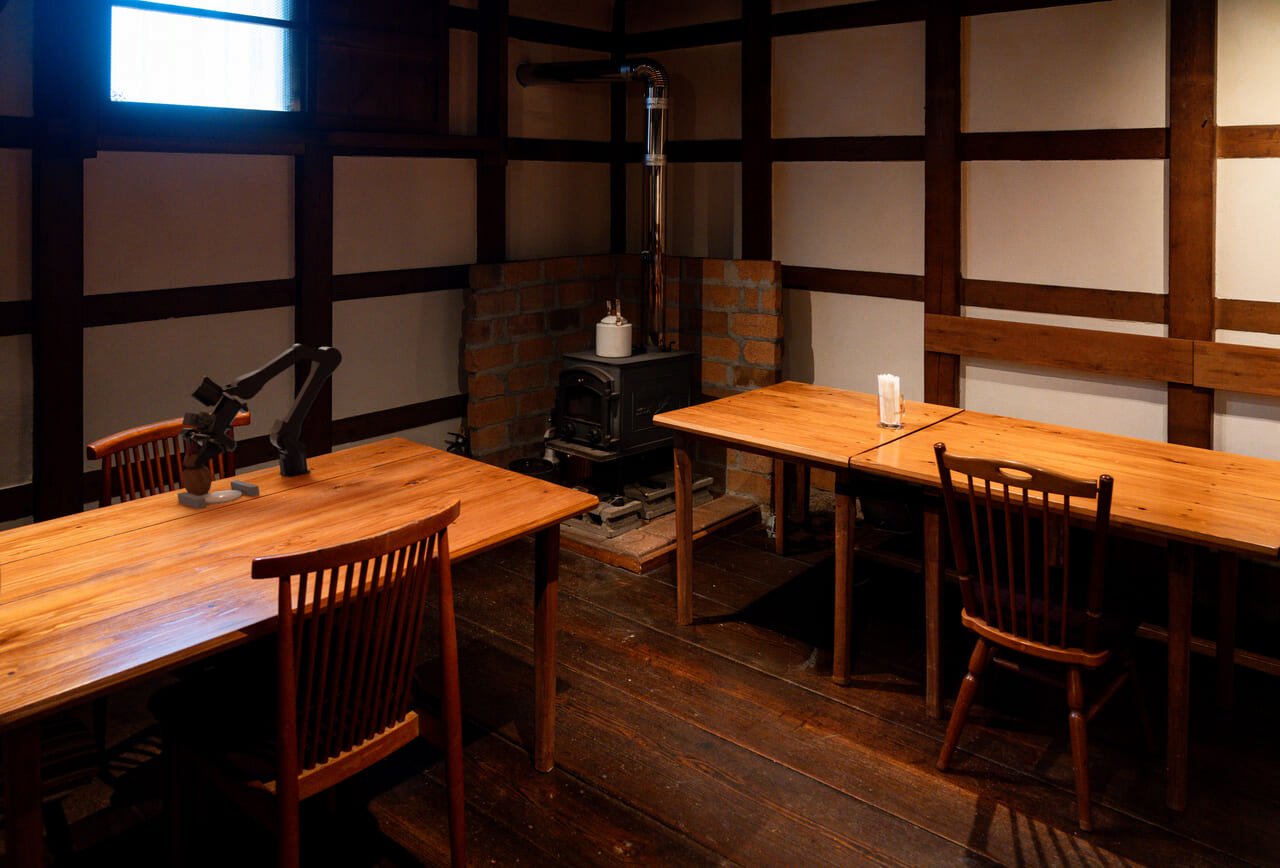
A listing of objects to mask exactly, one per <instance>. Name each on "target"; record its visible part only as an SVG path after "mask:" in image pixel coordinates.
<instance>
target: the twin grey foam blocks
mask: <svg viewBox="0 0 1280 868" xmlns="http://www.w3.org/2000/svg"><path fill="white" fill-rule="evenodd" d="M230 490H238V491H241V492H242V495H246V496H250V497H255V496H259V495H260V489H259V485H256V484H253V483H250V482H247V481H246V482H245V481H242V480H239V479H238V480H232V481H230ZM176 494H177V499H178V500H177V501H178V503H180V504H182V505H186V506H188V507H190V508H194V509H196V510H201V509H204V508H207V504H206V501H205V498H203V497H200V496H201V495H199V496H197V495H194V494H191V493H188V492H187V491H183V492H179V493H176Z"/></svg>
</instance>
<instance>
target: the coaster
mask: <svg viewBox="0 0 1280 868" xmlns="http://www.w3.org/2000/svg"><path fill="white" fill-rule="evenodd" d="M199 496H200V497H203V498H205V501H206V505H215V504H216V505H217V504H223V503H228V502H233V501H235V500H238V499H240V498H241V497H242V496H243V494H242V492H241V491H238V490H231V489H229V490H228V489H227V490H226V489H225V490H219V491H212V492H208V493H206V494H204V495H199Z"/></svg>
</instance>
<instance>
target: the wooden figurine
mask: <svg viewBox="0 0 1280 868" xmlns="http://www.w3.org/2000/svg"><path fill="white" fill-rule="evenodd" d="M186 450H187V455H186V456H185V455H184V457H183V462H184V463H185V465H184V466H185V467H186V468H185V469H184V470H183V471H182V483H183V485H184V488H185V490H186V491H185V492H188V493H191V494H194V495H197V496H201V495H204V494H207V493H210V490H211V487H212V475H211V471H210V470H209V468H208V467H207V466H205V465H204V464H202V465H201V466H199V467H197V468H196V467H195V466H194V463H195V461H196V459H197V457H198V455H199V447H198V442H197V438H195V446H194V443H193V441H192V447H191V446H189V449H187V448H186Z"/></svg>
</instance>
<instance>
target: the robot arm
mask: <svg viewBox="0 0 1280 868" xmlns="http://www.w3.org/2000/svg"><path fill="white" fill-rule="evenodd" d="M302 359H304V360H305V359H306V360H308V361H311V367H310V373H309V375H307V378H306V380H305V382H304V383H303V385H302V387H301V389H300V391H299V393H298V395H297V396H296V397H295V400H294V402H293V404H292V405H291V407H290V408H289V411H288V413H287V415H285V417H284V418H282V419H280V418H276V419H275V421H274V423H273V426H272V427H271V428H270V429H269V432H270V433H269V440H270V443H271V444H272V445H273V446H274V447H276V448H277V449H278V451H279V452H280V453H279V459H278V464H279V470H280V471H279V475H282V476H287V477H295V476H299V475H304V474H307V473H311V469H308V462H307V454H306V452H307V451H306V450H307V447H308V446H307V445H306V443H304V442H302V441H301V440H299V437H300V434H301V428H302V423H303V422H304V419H305V418H306V415H307V413H308V412H309V410H310V409H311V407H312V404H313V402H315V399H316V397H317V395H318V393H319V391H320V390H321V388H322V386H323V384H324V383H325V381H326V380H327V378H328V377H330V376H331V375H332V374H333V373H335V371H336V369H338V367H339V366H340V364H341V363H342V361H343V357H342V353H341V352H340V350H339V349H337V348H336V347H331V346H330V347H329V346H321V347H319V348H317V347H313V346H308V345H304V344H301V343H294V344H292V345H291V347H290V348H288V349H286V350H285V351H283V352H282V353H281V354H279V355H277V356H276V357H274V358H273V359H271V360H270V361H269V362H267V363H265V364H264V365H262V366H261V367H259V368H258V369H256V370H253V371H250V372H248V373H245V374H242V375H240V376H238V377H235V378H233V380H231V381H230V383H227V384H223V385H219V384H218V383H216V382H214V381H213V380H212V379H211V378H210V377H208V376H206V375H203V376H202V378H200V379H199V380H198V381H197V382H196V383H193V386H191V388H190V390H189V391H188V394H187V395H188V397H190V398H192V399H193V400H195V401H196V402H197V403H199V404H201V405H202V406H203V407H206V408H209V407H212V408H213V407H214V409H213V410H212V411H211V413H209V412H206V411H199V413H195V412H194V413H193V412H184V416H183V420H182V425H185V426H191V427H194V428H190V427H184V428H183V427H182V428H181V430H180V431H179V433H178V436H179V437H181V438H182V439H183V440H185V442H186V444H187V445H186V451H185V455H184V457H185V456H186V455H187V449H189V446H191V447H192V441H193V443H194V446H195V438H197V442H198V447H199V455H198V457H197V459H196V461H195V463H194V466H195V467H196V468H197V467H199V466H201V465H202V464H203V465H204V464H206V463H207V462H209V461H210V460H212V459H214V458H215V457H217V456H219V455H220V454H223V453H225V450H226V451H227V452H234V450H235V448H236V447H237V441H236V440H235V438H232V437H231V436H230V435H228V434H227V431H231V430H232V429H233V428H234V427H233V425H232V423H233V422H234V421H235V419H236V418H237V416H238V414H239V413H241V414H246V413H247V414H248V413H249V412H250V409H249V408H248V403H247V402H241V401H239V400H238V399H240V400H244V401H248V400H251V399H253V398H254V397H255V396H256V395H257V394H258V393H259V392H260V391H262V389H263V388H264V387H265V385H266V384H267V383H268V382H269V381H271V380H272V379H274V378H275V377H277V376H278V375H280V374H281V373H282V372H285V371H286V370H287V369H288V368H290V367H292V366H293V365H295V364H296V363H298V362H299V361H301V360H302ZM227 395H228V396H230V397H231V398H230V397H228V396H227ZM236 398H237V399H236ZM224 448H225V450H224ZM182 465H183V466H185V463H184V461H183V463H182ZM203 465H202V466H203Z"/></svg>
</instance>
